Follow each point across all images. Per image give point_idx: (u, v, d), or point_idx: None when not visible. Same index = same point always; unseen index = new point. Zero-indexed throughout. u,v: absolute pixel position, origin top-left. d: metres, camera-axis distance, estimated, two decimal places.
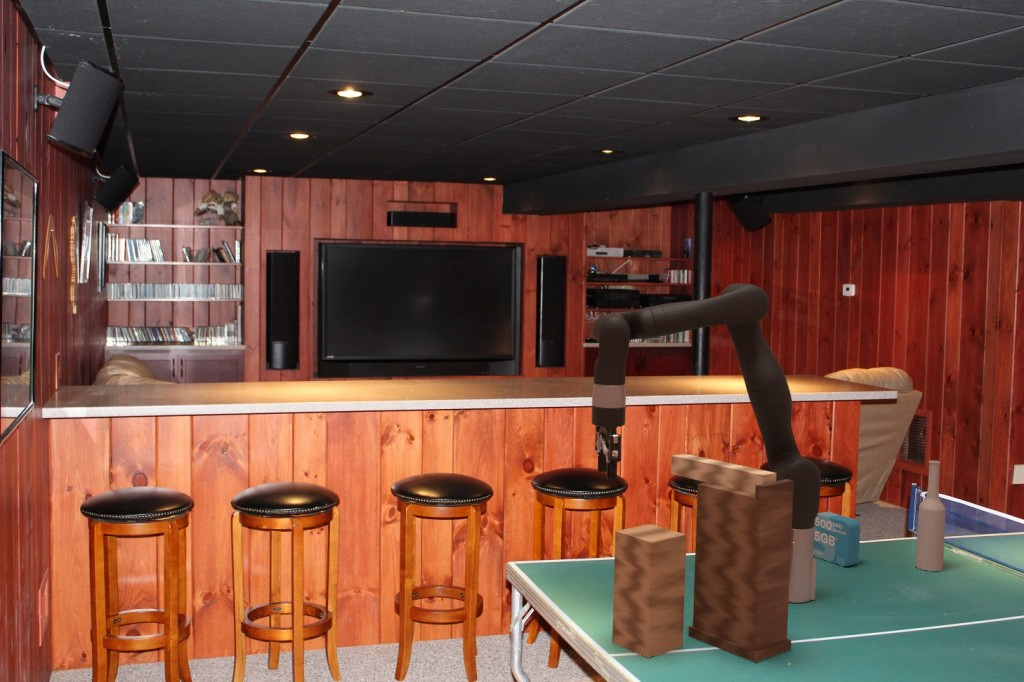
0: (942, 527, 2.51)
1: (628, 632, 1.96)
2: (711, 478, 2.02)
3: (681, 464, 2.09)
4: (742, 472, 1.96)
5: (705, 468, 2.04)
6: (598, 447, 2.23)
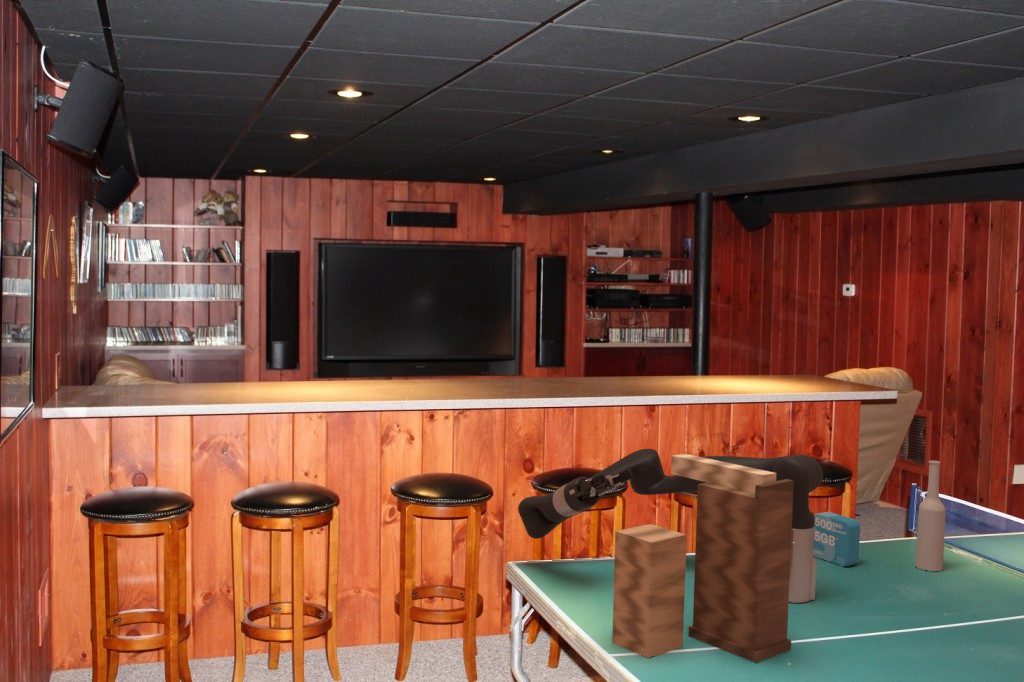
0: (942, 527, 2.51)
1: (628, 632, 1.96)
2: (711, 478, 2.02)
3: (681, 464, 2.09)
4: (742, 472, 1.96)
5: (705, 468, 2.04)
6: (612, 487, 2.31)
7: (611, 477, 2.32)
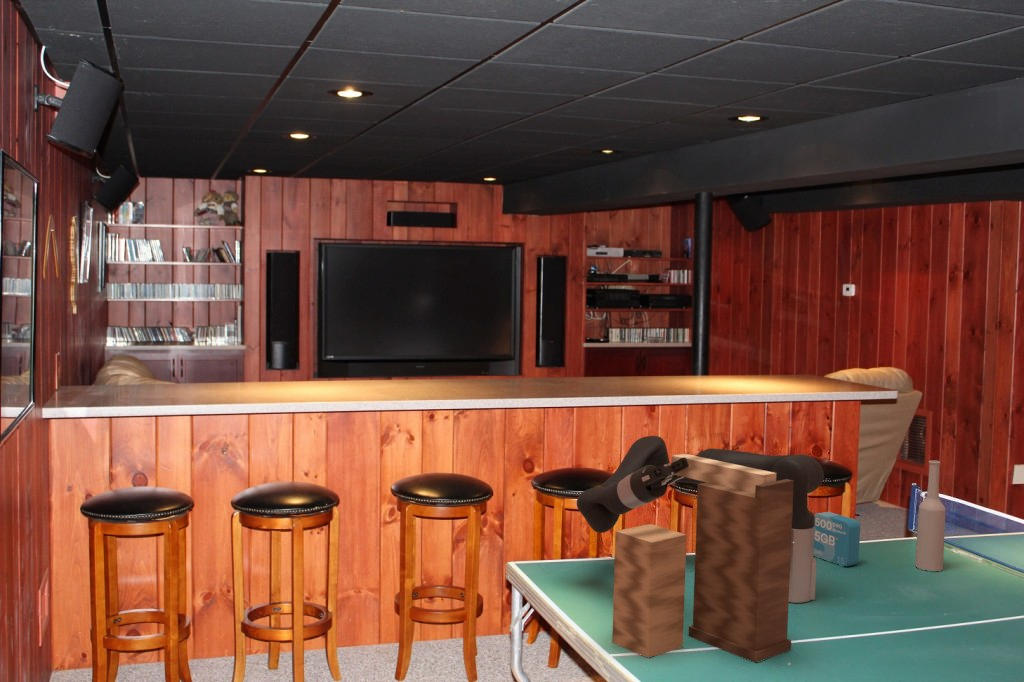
0: (942, 527, 2.51)
1: (628, 632, 1.96)
2: (711, 478, 2.02)
3: None
4: (742, 472, 1.96)
5: (705, 468, 2.04)
6: (680, 476, 2.14)
7: None
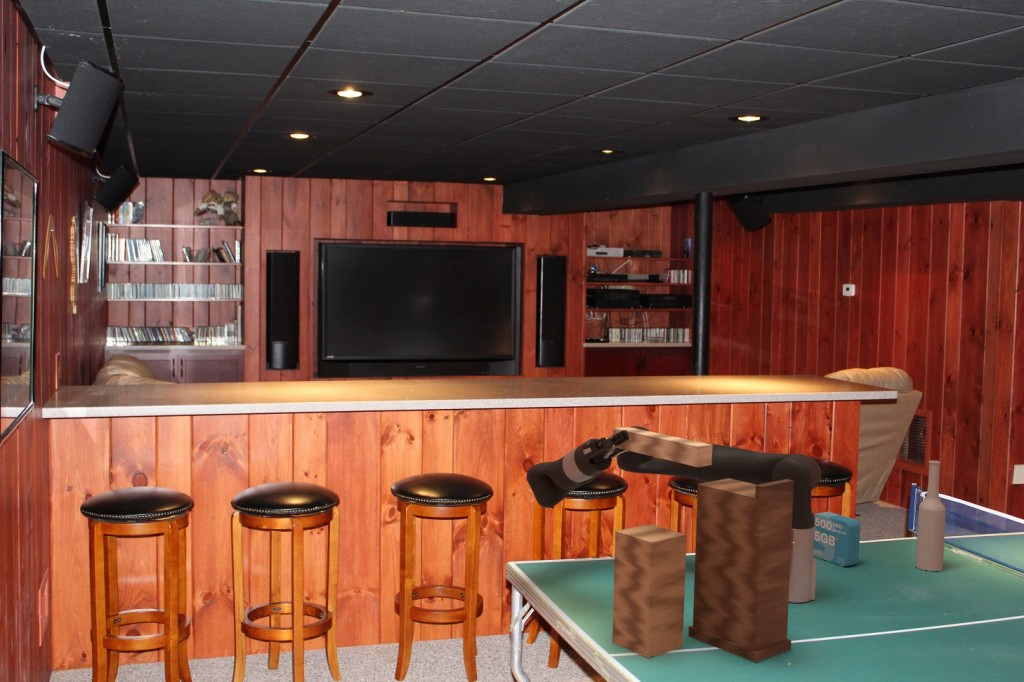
0: (942, 527, 2.51)
1: (628, 632, 1.96)
2: (649, 450, 2.01)
3: None
4: (678, 444, 1.94)
5: (644, 440, 2.02)
6: (623, 449, 2.12)
7: None
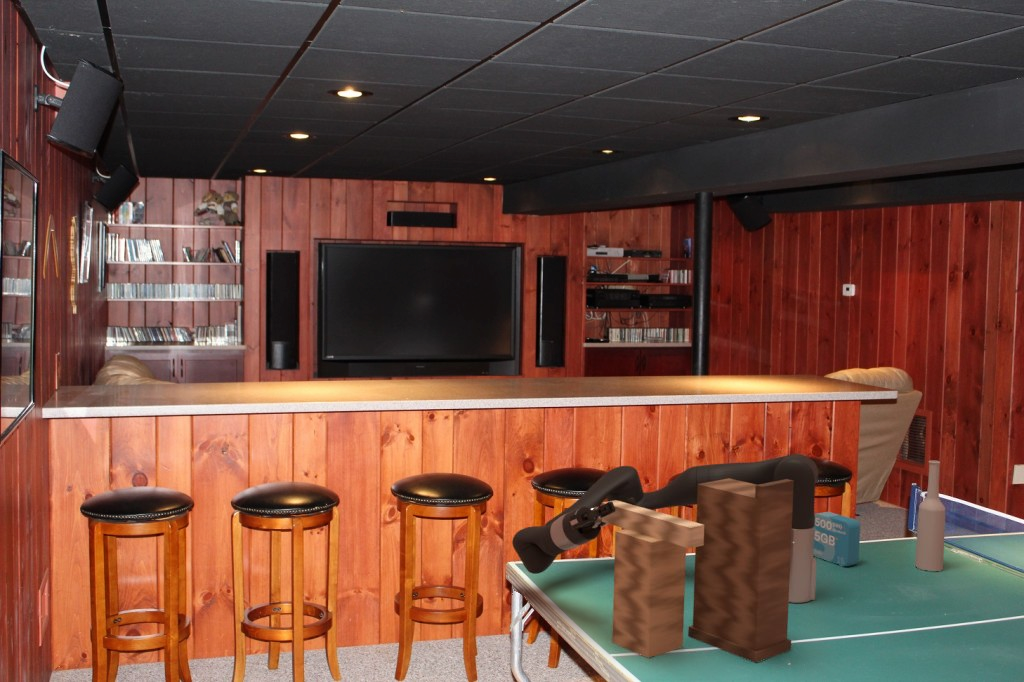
0: (942, 527, 2.51)
1: (628, 632, 1.96)
2: (640, 528, 1.97)
3: None
4: (669, 523, 1.90)
5: (634, 517, 1.98)
6: None
7: None
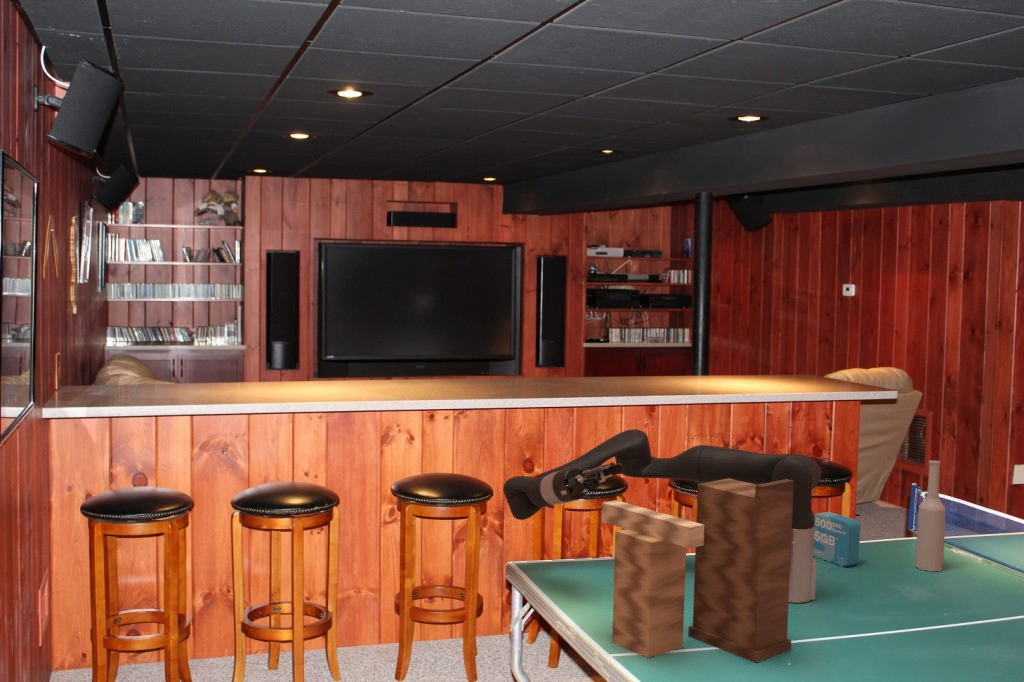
0: (942, 527, 2.51)
1: (628, 632, 1.96)
2: (640, 528, 1.97)
3: (611, 511, 2.03)
4: (669, 523, 1.90)
5: (634, 517, 1.98)
6: (603, 480, 2.24)
7: (601, 469, 2.24)
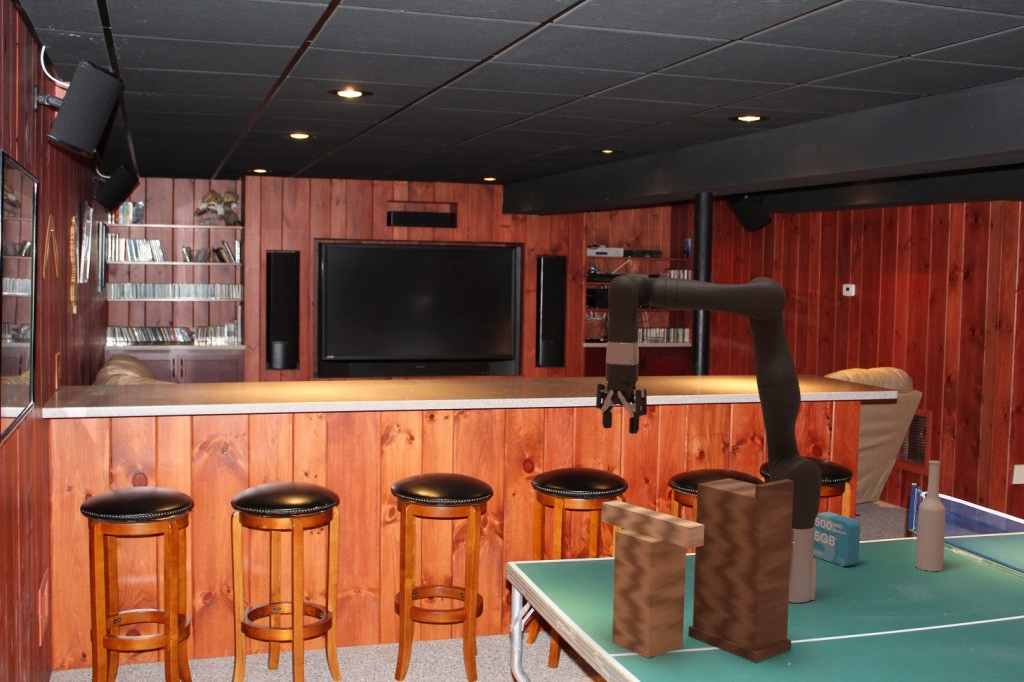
0: (942, 527, 2.51)
1: (628, 632, 1.96)
2: (640, 528, 1.97)
3: (611, 511, 2.03)
4: (669, 523, 1.90)
5: (634, 517, 1.98)
6: None
7: None
